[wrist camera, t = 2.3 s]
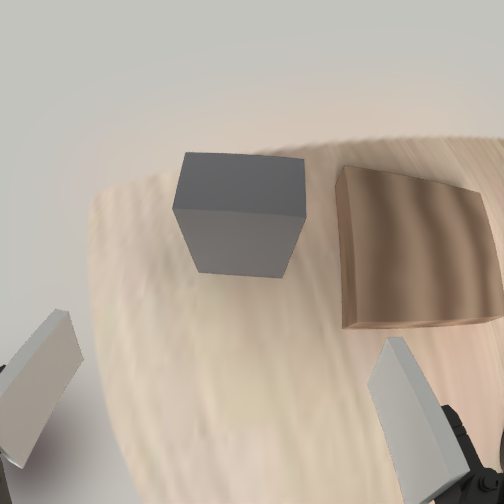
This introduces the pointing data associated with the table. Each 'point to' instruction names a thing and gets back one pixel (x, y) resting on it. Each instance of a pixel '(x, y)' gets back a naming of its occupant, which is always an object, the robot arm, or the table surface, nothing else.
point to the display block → (414, 253)
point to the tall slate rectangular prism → (241, 212)
